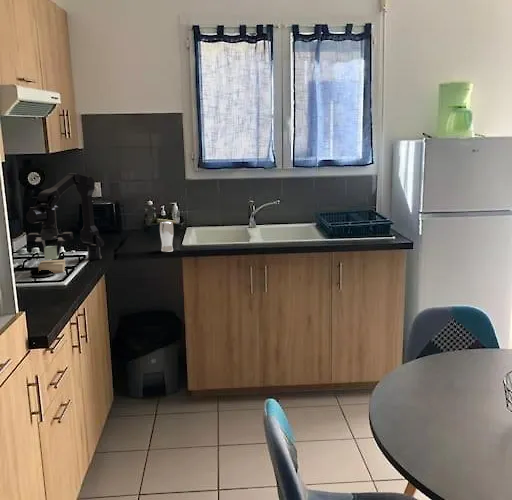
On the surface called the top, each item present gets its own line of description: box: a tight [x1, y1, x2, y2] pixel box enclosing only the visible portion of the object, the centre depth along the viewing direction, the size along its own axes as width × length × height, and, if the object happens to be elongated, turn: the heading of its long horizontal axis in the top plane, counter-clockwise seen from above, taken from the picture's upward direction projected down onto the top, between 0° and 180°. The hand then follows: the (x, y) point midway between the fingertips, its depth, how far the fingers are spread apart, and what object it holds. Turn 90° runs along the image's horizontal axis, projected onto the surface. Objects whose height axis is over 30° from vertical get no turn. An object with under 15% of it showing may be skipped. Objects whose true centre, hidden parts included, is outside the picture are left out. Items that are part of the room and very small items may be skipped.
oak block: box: [37, 259, 66, 274], centre depth 254 cm, size 10×10×4 cm
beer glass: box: [159, 221, 174, 253], centre depth 298 cm, size 7×7×15 cm
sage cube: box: [43, 245, 60, 261], centre depth 253 cm, size 5×5×5 cm
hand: (51, 255), depth 253 cm, fingers closed on sage cube, 5 cm apart
